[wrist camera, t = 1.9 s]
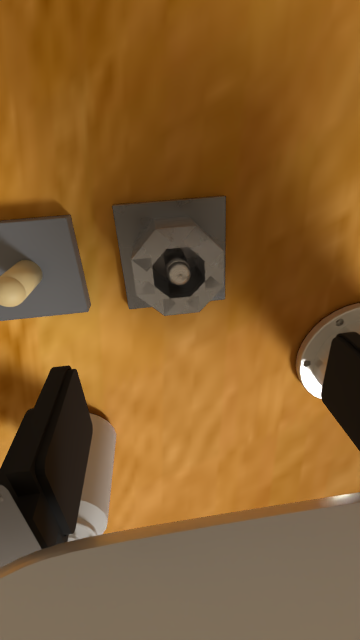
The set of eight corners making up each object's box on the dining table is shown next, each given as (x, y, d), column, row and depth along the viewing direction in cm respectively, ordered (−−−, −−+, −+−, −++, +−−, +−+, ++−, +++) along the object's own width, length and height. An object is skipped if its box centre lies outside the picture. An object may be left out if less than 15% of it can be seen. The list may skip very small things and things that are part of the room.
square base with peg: (70, 214, 24) (47, 231, 18) (90, 304, 28) (77, 341, 22) (-33, 223, 23) (-90, 242, 18) (2, 313, 27) (-36, 353, 22)
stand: (223, 195, 25) (245, 204, 19) (222, 295, 29) (240, 325, 24) (113, 204, 24) (104, 216, 19) (129, 305, 28) (126, 338, 23)
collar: (211, 213, 24) (223, 223, 20) (212, 288, 27) (223, 309, 24) (129, 220, 24) (127, 231, 20) (140, 296, 27) (139, 318, 23)
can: (38, 418, 33) (-10, 536, 23) (102, 399, 33) (82, 510, 23) (68, 459, 37) (38, 577, 26) (126, 442, 37) (118, 555, 26)
